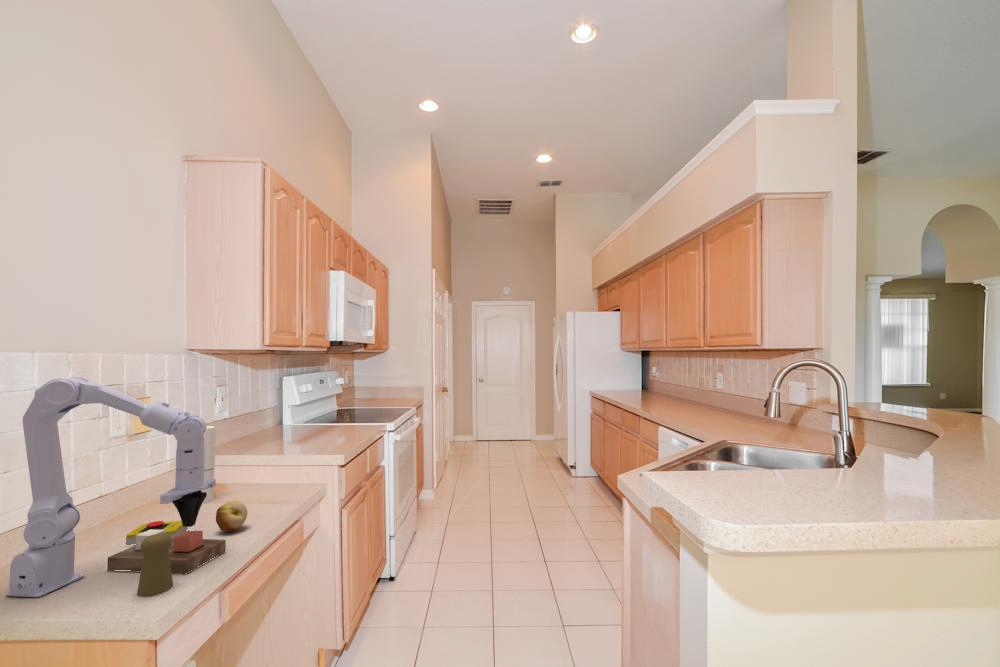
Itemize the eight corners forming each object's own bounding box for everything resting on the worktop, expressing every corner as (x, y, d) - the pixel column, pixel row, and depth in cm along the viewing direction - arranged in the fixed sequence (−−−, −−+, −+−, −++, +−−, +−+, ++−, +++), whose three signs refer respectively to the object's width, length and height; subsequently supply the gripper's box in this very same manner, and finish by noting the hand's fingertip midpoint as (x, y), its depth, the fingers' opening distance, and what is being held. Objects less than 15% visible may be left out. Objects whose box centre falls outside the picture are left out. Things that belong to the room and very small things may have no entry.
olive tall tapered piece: (179, 582, 99) (181, 529, 100) (160, 596, 93) (161, 540, 94) (150, 583, 99) (152, 530, 99) (129, 597, 93) (130, 541, 93)
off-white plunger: (150, 550, 108) (151, 535, 109) (135, 549, 109) (135, 535, 109) (165, 543, 112) (165, 529, 113) (150, 543, 113) (150, 529, 113)
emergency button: (137, 519, 129) (197, 514, 132) (136, 536, 128) (197, 530, 132) (117, 531, 120) (183, 525, 123) (117, 549, 119) (182, 542, 123)
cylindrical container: (193, 499, 161) (194, 427, 163) (216, 497, 164) (217, 425, 165) (186, 505, 155) (187, 429, 156) (210, 502, 157) (211, 428, 158)
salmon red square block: (189, 551, 107) (189, 537, 107) (173, 551, 108) (174, 536, 108) (202, 544, 111) (202, 530, 111) (187, 544, 112) (187, 530, 112)
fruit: (212, 538, 124) (213, 507, 125) (218, 528, 132) (219, 499, 132) (244, 533, 127) (245, 504, 128) (248, 524, 135) (249, 496, 135)
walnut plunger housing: (187, 574, 103) (187, 560, 103) (107, 570, 105) (107, 557, 105) (225, 552, 115) (225, 539, 115) (153, 549, 117) (153, 537, 117)
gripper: (180, 475, 103) (179, 537, 102) (227, 461, 117) (226, 515, 116) (152, 474, 104) (150, 536, 103) (201, 461, 118) (200, 515, 117)
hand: (188, 525), depth 110 cm, fingers closed
